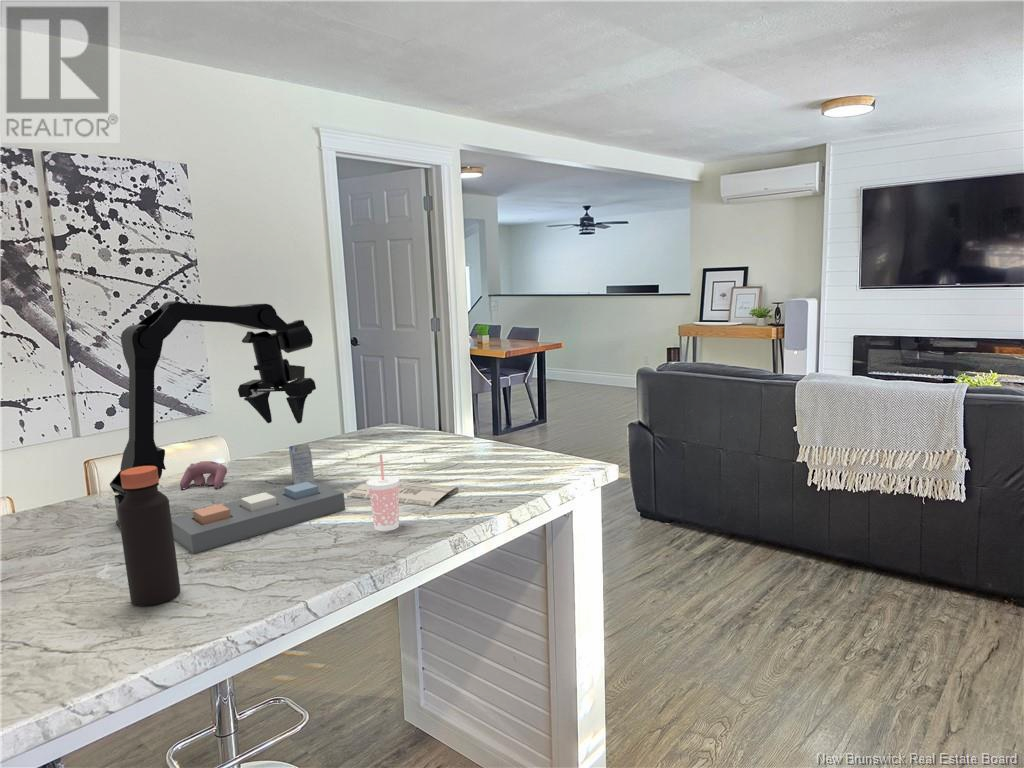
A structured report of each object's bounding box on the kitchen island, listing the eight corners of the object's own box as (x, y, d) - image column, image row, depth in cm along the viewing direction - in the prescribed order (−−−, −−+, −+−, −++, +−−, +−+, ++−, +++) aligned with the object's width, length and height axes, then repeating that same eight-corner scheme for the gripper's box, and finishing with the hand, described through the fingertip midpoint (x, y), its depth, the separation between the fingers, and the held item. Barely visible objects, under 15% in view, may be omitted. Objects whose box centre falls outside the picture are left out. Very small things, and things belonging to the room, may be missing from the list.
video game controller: (227, 491, 164) (230, 462, 167) (217, 488, 160) (221, 458, 162) (187, 492, 166) (192, 463, 168) (177, 488, 161) (181, 459, 163)
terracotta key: (204, 532, 127) (202, 516, 127) (194, 525, 131) (192, 510, 130) (231, 524, 130) (229, 509, 130) (221, 518, 134) (219, 503, 134)
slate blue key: (296, 506, 139) (295, 492, 139) (285, 501, 143) (284, 487, 142) (319, 500, 142) (317, 486, 142) (307, 495, 146) (306, 481, 146)
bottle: (125, 598, 106) (106, 471, 103) (171, 583, 110) (155, 461, 107) (139, 612, 101) (120, 479, 98) (187, 595, 105) (170, 468, 102)
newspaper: (462, 491, 152) (461, 481, 151) (434, 515, 141) (432, 504, 141) (377, 482, 162) (376, 472, 161) (344, 504, 151) (343, 493, 150)
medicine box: (315, 486, 159) (311, 450, 158) (294, 489, 158) (291, 452, 156) (311, 478, 166) (308, 443, 165) (292, 481, 165) (288, 445, 163)
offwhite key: (252, 518, 133) (250, 503, 133) (242, 513, 137) (240, 498, 136) (277, 511, 136) (275, 497, 136) (266, 506, 140) (265, 492, 140)
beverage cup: (367, 524, 133) (361, 453, 130) (399, 518, 135) (394, 448, 133) (373, 534, 127) (366, 460, 125) (406, 529, 129) (400, 456, 127)
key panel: (193, 553, 122) (191, 535, 122) (169, 536, 132) (167, 518, 131) (345, 509, 142) (343, 492, 142) (315, 496, 152) (313, 481, 151)
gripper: (324, 348, 161) (337, 411, 165) (264, 351, 169) (278, 411, 173) (291, 360, 151) (306, 427, 155) (229, 363, 159) (245, 427, 163)
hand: (284, 422), depth 162 cm, fingers open, 9 cm apart
